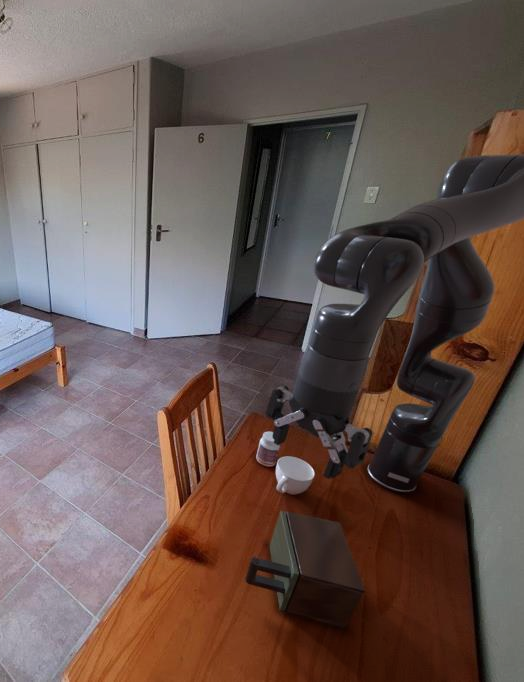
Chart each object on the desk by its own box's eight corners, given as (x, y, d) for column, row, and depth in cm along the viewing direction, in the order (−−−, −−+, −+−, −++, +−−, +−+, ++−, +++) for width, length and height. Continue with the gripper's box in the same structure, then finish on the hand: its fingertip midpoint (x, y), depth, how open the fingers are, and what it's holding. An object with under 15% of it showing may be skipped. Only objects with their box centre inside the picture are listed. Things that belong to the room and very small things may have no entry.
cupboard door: (242, 599, 67) (253, 562, 62) (237, 538, 78) (246, 503, 73) (284, 611, 65) (299, 574, 60) (273, 547, 76) (285, 511, 71)
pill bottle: (277, 467, 95) (284, 443, 91) (258, 465, 96) (264, 441, 92) (272, 454, 99) (278, 431, 95) (253, 453, 100) (259, 429, 96)
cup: (314, 490, 88) (321, 470, 85) (291, 511, 83) (297, 490, 80) (282, 470, 94) (288, 451, 91) (260, 488, 89) (265, 469, 86)
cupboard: (286, 612, 65) (301, 574, 60) (274, 548, 76) (286, 511, 71) (344, 629, 63) (365, 590, 57) (324, 560, 73) (340, 522, 68)
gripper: (401, 392, 48) (363, 479, 55) (298, 349, 60) (278, 426, 67) (369, 409, 45) (333, 499, 52) (267, 361, 57) (250, 440, 64)
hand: (302, 458), depth 60 cm, fingers open, 8 cm apart
